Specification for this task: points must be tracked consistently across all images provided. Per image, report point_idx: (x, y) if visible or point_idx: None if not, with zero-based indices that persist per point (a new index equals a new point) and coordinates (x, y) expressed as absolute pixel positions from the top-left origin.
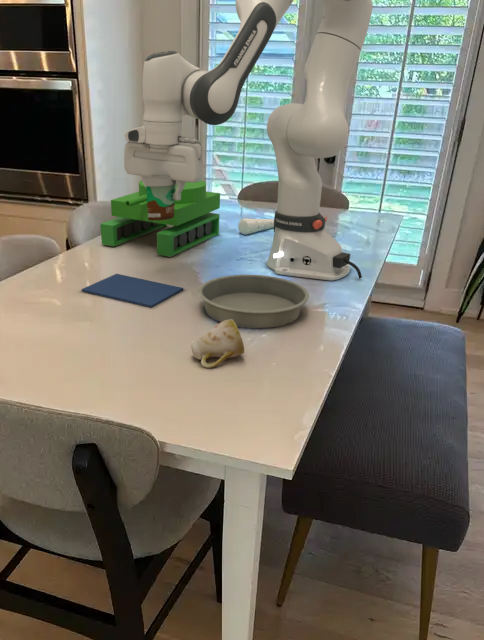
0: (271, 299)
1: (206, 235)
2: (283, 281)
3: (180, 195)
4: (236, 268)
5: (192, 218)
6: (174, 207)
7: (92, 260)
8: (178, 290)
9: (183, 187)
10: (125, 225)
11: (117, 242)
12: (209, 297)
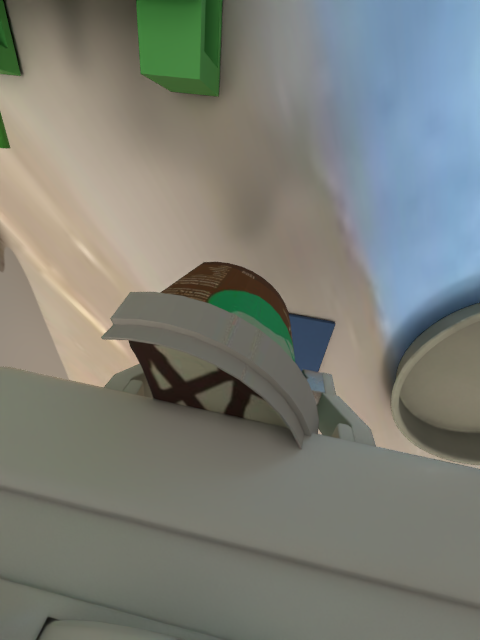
0: None
1: None
2: None
3: (332, 387)
4: (456, 94)
5: None
6: (290, 330)
7: (72, 219)
8: (329, 339)
9: (356, 419)
10: None
11: (7, 46)
12: (401, 366)
